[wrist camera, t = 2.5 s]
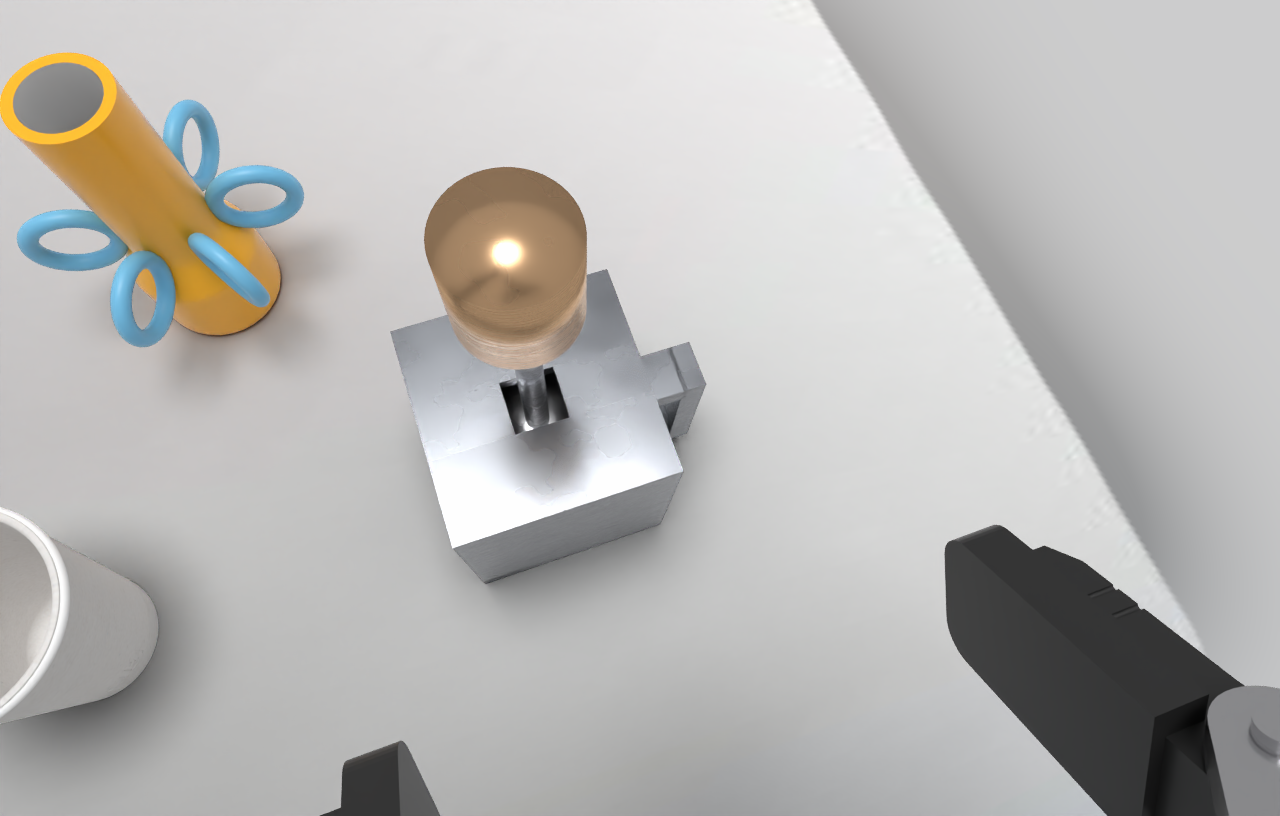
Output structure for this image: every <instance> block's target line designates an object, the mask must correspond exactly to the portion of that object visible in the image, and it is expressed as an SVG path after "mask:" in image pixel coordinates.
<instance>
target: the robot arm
mask: <svg viewBox="0 0 1280 816" xmlns="http://www.w3.org/2000/svg"><path fill="white" fill-rule="evenodd" d="M945 580H946V612H947V623H948V628H949V631H950V634H951V637H952V639H953V641H954V643H955V645H956V647H957V649H958V651H959V652H960V654H961V655H962V657H963V658H964V659H965V661H966V662H967V663H968V664H969V665H970V666H971V667H972V668H973V670H974V671H975V672H976V673H977V674H978V675H979V676H980V677H981V678H982V679H983V680H984V682H985V683H986V684H987V685H988V686H989V687H990V688H991V689H992V690H993V691H994V692H995V694H996V695H997V696H998V697H999V698H1000V699H1001V700H1002V701H1003V702H1004V703H1005V704H1006V706H1007V707H1008V708H1009V709H1010V710H1011V711H1012V712H1013V713H1014V714H1015V715H1016V716H1017V718H1018V719H1019V720H1020V721H1021V722H1022V723H1023V724H1024V725H1025V726H1026V727H1027V728H1028V730H1029V731H1030V732H1031V733H1032V734H1033V735H1034V736H1035V737H1036V738H1037V739H1038V740H1039V742H1040V743H1041V744H1042V745H1043V746H1044V747H1045V748H1046V749H1047V750H1048V751H1049V753H1050V754H1051V755H1052V756H1053V757H1054V758H1055V759H1056V760H1057V761H1058V762H1059V763H1060V765H1061V766H1062V767H1063V768H1064V769H1065V770H1066V771H1067V772H1068V773H1069V774H1070V775H1071V777H1072V778H1073V779H1074V780H1075V781H1076V782H1077V783H1078V784H1079V785H1080V786H1081V787H1082V789H1083V790H1084V791H1085V792H1086V793H1087V794H1088V795H1089V796H1090V797H1091V798H1092V799H1093V801H1094V802H1095V803H1096V804H1097V805H1098V806H1099V807H1100V808H1101V809H1102V810H1103V811H1104V813H1105V814H1106V815H1107V816H1280V689H1279V688H1273V687H1266V686H1244V685H1243V684H1241V683H1240V682H1239V681H1237V680H1236V679H1234V678H1233V677H1232V676H1231V675H1229V674H1228V673H1226V672H1225V671H1224V670H1222V669H1221V668H1220V667H1219V666H1218V665H1216V664H1215V663H1214V662H1212V661H1211V660H1210V659H1209V658H1207V657H1206V656H1205V655H1203V654H1202V653H1201V652H1199V651H1198V650H1197V649H1196V648H1194V647H1193V646H1192V645H1190V644H1189V643H1188V642H1187V641H1185V640H1184V639H1183V638H1181V637H1180V636H1179V635H1178V634H1176V633H1175V632H1174V631H1172V630H1171V629H1170V628H1168V627H1167V626H1166V625H1165V624H1163V623H1162V622H1161V621H1159V620H1158V619H1157V618H1156V617H1154V616H1153V615H1152V614H1150V613H1149V612H1148V611H1146V610H1145V609H1142V610H1141V609H1140V608H1139V607H1138V604H1137V603H1136V602H1135V601H1134V600H1132V599H1131V598H1130V597H1128V596H1127V595H1126V594H1125V593H1123V592H1122V591H1121V590H1119V589H1118V590H1115V589H1114V587H1113V584H1112V583H1110V582H1109V581H1108V580H1106V579H1105V578H1104V577H1103V576H1101V575H1100V574H1099V573H1097V572H1096V571H1095V570H1093V569H1092V568H1091V567H1090V566H1088V565H1087V564H1086V563H1084V562H1083V561H1081V560H1079V559H1076V558H1074V557H1071V556H1069V555H1066V554H1064V553H1061V552H1059V551H1056V550H1054V549H1051V548H1049V547H1046V546H1042V547H1039V548H1037V549H1034V550H1032V549H1031V548H1030V547H1028V546H1027V545H1026V544H1025V543H1023V542H1022V541H1021V540H1020V539H1019V538H1017V537H1016V536H1015V535H1014V534H1012V533H1011V532H1010V531H1009V530H1007V529H1006V528H1004V527H1002V526H1000V525H993V526H990V527H987V528H984V529H982V530H979V531H976V532H974V533H971V534H968V535H965V536H963V537H960V538H957V539H955V540H952V541H949V542H948V543H947V545H946V547H945ZM321 816H440V814H439V812H438V810H437V808H436V806H435V804H434V801H433V799H432V797H431V795H430V793H429V791H428V789H427V787H426V785H425V783H424V780H423V778H422V776H421V774H420V772H419V770H418V768H417V766H416V764H415V762H414V760H413V757H412V755H411V753H410V751H409V749H408V747H407V746H406V744H405V743H404V742H403V741H399V742H396V743H393V744H391V745H388V746H385V747H383V748H380V749H377V750H374V751H372V752H369V753H366V754H363V755H361V756H358V757H355V758H353V759H350V760H347V761H346V762H345V763H344V765H343V771H342V797H341V808H339V809H336V810H334V811H331V812H329V813H326V814H323V815H321Z"/></svg>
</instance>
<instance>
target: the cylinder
mask: <svg viewBox="0 0 1280 816" xmlns="http://www.w3.org/2000/svg"><path fill="white" fill-rule="evenodd" d="M0 113H1V117H2V119H3V121H4V123H5V125H6V126H7V127H8V129H9V130H10V131H11V132H12V133H13V134H14V135H15V136H16V137H17V138H18V139H19V140H20V141H22V142H23V143H24V144H25V145H26V146H27V147H28V148H29V149H30V150H31V151H32V152H33V153H34V154H35V155H36V156H37V157H38V158H39V159H40V160H41V161H42V162H43V163H44V164H45V165H46V166H47V167H48V168H49V169H50V170H51V171H52V172H53V173H54V174H55V175H56V176H57V177H58V178H59V179H60V180H61V181H62V182H63V183H64V184H65V185H66V186H67V187H68V188H69V189H70V190H71V191H72V192H74V193H75V194H76V195H77V196H78V197H79V198H80V199H81V200H82V201H83V202H84V203H85V204H86V205H87V206H88V207H89V208H90V209H91V210H92V211H93V212H91V211H85V210H56V211H50V212H46V213H43V214H40V215H37V216H35V217H33V218H31V219H29V220H28V221H27V222H25V223H24V224H23V225H22V226H21V228H20V229H19V231H18V234H17V243H18V246H19V248H20V250H21V251H22V252H23V254H24V255H25V256H27V257H28V258H29V259H31V260H32V261H34V262H36V263H38V264H40V265H43V266H46V267H49V268H53V269H58V270H66V271H86V270H94V269H99V268H103V267H106V266H109V265H111V264H113V263H115V262H117V261H118V260H120V259H121V258H122V257H123V256H124V255H125V254H126V257H127V258H125V259H124V261H123V262H122V263H121V264H120V266H119V268H118V269H117V271H116V274H115V276H114V279H113V283H112V287H111V296H110V306H111V314H112V318H113V322H114V325H115V327H116V329H117V331H118V333H119V334H120V335H121V337H122V338H123V339H124V340H125V341H126V342H128V343H129V344H131V345H133V346H137V347H148V346H151V345H153V344H155V343H157V342H158V341H159V340H161V339H162V337H163V336H164V335H165V334H166V332H167V330H168V329H169V326H170V324H171V322H172V319H173V318H174V319H175V320H176V321H177V322H178V323H180V324H181V325H182V326H184V327H185V328H187V329H189V330H192V331H194V332H197V333H201V334H207V335H226V334H232V333H235V332H238V331H241V330H244V329H246V328H248V327H249V326H251V325H253V324H255V323H256V322H257V321H259V320H260V319H261V318H263V317H264V316H265V314H266V313H267V312H268V311H269V310H270V309H271V307H272V305H273V304H274V302H275V300H276V298H277V295H278V292H279V289H280V281H281V275H280V268H279V265H278V262H277V260H276V258H275V256H274V255H273V253H272V251H271V250H270V248H269V247H268V246H267V244H266V243H265V241H264V240H263V239H262V237H261V236H260V234H259V233H258V232H257V230H256V229H255V228H262V227H268V226H273V225H276V224H279V223H282V222H284V221H286V220H288V219H289V218H291V217H292V216H294V215H295V214H296V213H297V212H298V211H299V209H300V208H301V206H302V204H303V200H304V192H303V188H302V186H301V184H300V183H299V182H298V180H297V179H296V178H295V177H293V176H292V175H291V174H289V173H287V172H285V171H283V170H281V169H278V168H274V167H270V166H261V165H251V166H242V167H237V168H234V169H231V170H228V171H226V172H224V173H222V174H220V175H218V176H217V177H216V178H215V175H216V172H217V169H218V163H219V139H218V133H217V129H216V126H215V123H214V121H213V118H212V117H211V115H210V113H209V112H208V110H207V109H206V108H205V107H204V106H203V105H202V104H200V103H198V102H196V101H193V100H183V101H181V102H179V103H177V104H176V105H175V106H174V107H173V108H172V109H171V111H170V112H169V114H168V117H167V119H166V122H165V126H164V132H163V140H162V139H161V137H160V136H159V135H158V133H157V132H156V131H155V129H154V128H153V127H152V126H151V124H150V123H149V122H148V120H147V119H146V118H145V116H144V115H143V114H142V112H141V111H140V110H139V109H138V107H137V106H136V105H135V103H134V102H133V101H132V99H131V98H130V97H129V95H128V94H127V93H126V92H125V90H124V89H123V88H122V86H121V85H120V84H119V82H118V81H117V80H116V78H115V77H114V76H113V74H112V73H111V72H110V71H109V69H108V68H107V67H106V66H105V65H104V64H102V63H101V62H100V61H98V60H96V59H94V58H92V57H90V56H87V55H83V54H78V53H57V54H51V55H47V56H44V57H41V58H38V59H36V60H34V61H31V62H30V63H28V64H26V65H25V66H23V67H22V68H20V69H19V70H18V71H17V72H16V73H15V74H14V75H13V76H12V77H11V78H10V79H9V81H8V82H7V84H6V85H5V87H4V89H3V92H2V94H1V98H0ZM191 117H192V118H193V119H194V120H195V122H196V124H197V126H198V128H199V131H200V135H201V141H202V157H201V163H200V166H199V169H198V171H197V173H196V174H195V176H193V177H192V176H191V175H190V174H189V172H188V170H187V168H186V166H185V162H184V158H183V151H182V139H183V132H184V128H185V125H186V123H187V121H188V120H189V119H190V118H191ZM251 183H266V184H272V185H275V186H278V187H280V188H282V189H283V190H284V191H285V192H286V198H285V200H284V201H283V202H282V203H281V204H279V205H278V206H276V207H274V208H271V209H268V210H264V211H257V212H246V211H241V210H240V209H239V208H238V207H236V206H235V205H233V204H232V203H230V202H229V201H227V200H225V199H224V197H225V195H226V194H227V193H228V192H229V191H230V190H232V189H234V188H236V187H239V186H242V185H245V184H251ZM204 190H206V192H205V194H204V193H203V191H204ZM62 228H86V229H92V230H95V231H99V232H101V233H103V234H105V235H107V236H108V237H109V238H110V243H109V245H108V246H106V247H105V248H103V249H101V250H99V251H96V252H92V253H87V254H64V253H58V252H54V251H51V250H49V249H46V248H44V247H43V246H42V245H40V243H39V238H40V237H41V236H42V235H44V234H46V233H48V232H50V231H53V230H57V229H62ZM135 282H136V283H137V284H138V286H139V287H140V288H141V289H142V290H143V291H144V292H145V293H146V294H147V295H148V296H149V297H151V298H152V299H153V300H154V301H155V302H156V308H155V312H154V315H153V318H152V320H151V322H150V323H149V325H148V326H147V327H146V328H145V329H143V330H141V329H140V328H139V327H138V326H137V324H136V322H135V320H134V317H133V312H132V292H133V287H134V284H135Z"/></svg>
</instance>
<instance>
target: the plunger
mask: <svg viewBox="0 0 1280 816" xmlns="http://www.w3.org/2000/svg"><path fill="white" fill-rule="evenodd" d="M424 243H425V251H426V256H427V259H428V262H429V265H430V268H431V270H432V273H433V276H434V279H435V281H436V284H437V287H438V290H439V292H440V295H441V298H442V301H443V303H444V306H445V309H446V312H447V314H448V317H449V320H450V323H451V325H452V328H453V330H454V333H455V335H456V336H457V338H458V340H459V341H460V343H461V344H462V345H463V347H464V348H465V349H466V350H467V351H468V352H469V353H471V354H472V355H473V356H475V357H476V358H477V359H479V360H481V361H483V362H485V363H487V364H490V365H492V366H495V367H499V368H504V369H511V370H515V374H516V379H517V383H516V384H513V385H510V386H507V387H503V388H501V392H502V395H503V398H504V401H505V404H506V407H507V410H508V413H509V416H510V419H511V423H512V426H513V429H514V432H515V435H516V434H519V433H522V432H525V431H528V430H532V429H535V428H538V427H541V426H544V425H547V424H551V423H554V422H557V421H560V420H563V419H566V418H569V415H568V413H567V410H566V407H565V404H564V401H563V398H562V395H561V392H560V389H559V386H558V384H557V381H556V378H555V375H554V372H552V373H549V374H546V375H544V368H543V365H544V364H547V363H549V362H551V361H553V360H554V359H556V358H558V357H559V356H560V355H562V354H563V353H564V352H565V351H567V350H568V349H569V348H570V347H571V345H572V344H573V343H574V342H575V340H576V339H577V337H578V336H579V334H580V332H581V330H582V328H583V325H584V321H585V317H586V289H587V232H586V225H585V221H584V218H583V215H582V212H581V210H580V208H579V206H578V205H577V203H576V201H575V200H574V198H573V197H572V196H571V195H570V194H569V193H568V191H566V190H565V189H564V188H563V187H562V186H561V185H560V184H558V183H557V182H555V181H554V180H552V179H550V178H549V177H547V176H545V175H543V174H540V173H537V172H535V171H531V170H527V169H522V168H515V167H500V168H491V169H486V170H482V171H479V172H476V173H473V174H471V175H469V176H466V177H464V178H463V179H461V180H459V181H458V182H456V183H455V184H453V185H452V186H451V187H450V188H448V189H447V190H446V191H445V192H444V193H443V194H442V195H441V196H440V198H439V199H438V200H437V202H436V203H435V205H434V206H433V208H432V210H431V212H430V214H429V217H428V220H427V223H426V227H425V235H424Z"/></svg>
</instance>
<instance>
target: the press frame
mask: <svg viewBox="0 0 1280 816" xmlns="http://www.w3.org/2000/svg"><path fill="white" fill-rule="evenodd" d="M391 336H392V339H393V343H394V346H395V350H396V353H397V357H398V360H399V364H400V367H401V371H402V374H403V378H404V381H405V385H406V388H407V392H408V395H409V398H410V402H411V405H412V409H413V412H414V416H415V419H416V423H417V426H418V430H419V433H420V437H421V440H422V444H423V447H424V451H425V454H426V458H427V461H428V464H429V468H430V471H431V475H432V478H433V482H434V485H435V489H436V492H437V496H438V499H439V503H440V506H441V510H442V513H443V517H444V520H445V524H446V527H447V531H448V534H449V537H450V541H451V544H452V548H453V549H454V550H455V551H456V552H457V554H458V555H459V556H460V557H461V558H462V559H463V560H464V561H465V562H466V563H467V565H468V566H469V567H470V568H471V569H472V570H473V571H474V572H475V573H476V574H477V576H478V577H479V578H480V579H481V580H482V581H483V582H484V583H485V584H487V583H490V582H493V581H495V580H498V579H501V578H504V577H507V576H510V575H513V574H516V573H519V572H522V571H525V570H528V569H530V568H533V567H536V566H539V565H542V564H545V563H548V562H551V561H554V560H557V559H560V558H562V557H565V556H568V555H571V554H574V553H577V552H580V551H583V550H586V549H589V548H592V547H595V546H597V545H600V544H603V543H606V542H609V541H612V540H615V539H618V538H621V537H624V536H627V535H630V534H632V533H635V532H638V531H641V530H644V529H647V528H650V527H653V526H656V525H659V524H660V523H661V521H662V519H663V517H664V514H665V512H666V510H667V508H668V505H669V503H670V501H671V498H672V496H673V494H674V492H675V489H676V487H677V485H678V483H679V480H680V478H681V476H682V473H683V468H682V465H681V463H680V460H679V458H678V455H677V452H676V450H675V447H674V444H673V442H672V439H671V438H674V437H677V436H680V435H683V434H686V433H687V432H688V429H689V427H690V424H691V422H692V419H693V416H694V414H695V411H696V409H697V406H698V404H699V401H700V399H701V396H702V393H703V391H704V388H705V386H706V383H705V380H704V378H703V375H702V373H701V370H700V368H699V365H698V363H697V360H696V358H695V355H694V353H693V350H692V348H691V345H690V343H689V342H687V343H684V344H681V345H677V346H674V347H671V348H668V349H664V350H661V351H658V352H655V353H651V354H648V355H645V356H642V357H640V355H639V352H638V350H637V347H636V344H635V342H634V339H633V336H632V334H631V331H630V328H629V326H628V323H627V321H626V318H625V315H624V313H623V310H622V307H621V305H620V302H619V299H618V297H617V294H616V292H615V289H614V286H613V284H612V281H611V278H610V276H609V273H608V270H607V269H606V270H602V271H599V272H595V273H592V274H588V275H587V289H586V317H585V321H584V325H583V328H582V330H581V332H580V334H579V336H578V337H577V339H576V340H575V342H574V343H573V344H572V345H571V347H570V348H569V349H568V350H567V351H565V352H564V353H563V354H562V355H560V356H559V357H558V358H556V359H554V360H553V361H551V362H549V363H547V364H544V365H543V368H544V375H546V374H549V373H552V372H554V375H555V378H556V381H557V384H558V386H559V389H560V392H561V395H562V398H563V401H564V404H565V407H566V410H567V413H568V415H569V418H566V419H563V420H560V421H557V422H554V423H551V424H547V425H544V426H541V427H538V428H535V429H532V430H528V431H525V432H522V433H519V434H516V435H515V432H514V429H513V426H512V423H511V419H510V416H509V413H508V410H507V407H506V404H505V401H504V398H503V395H502V392H501V388H503V387H507V386H510V385H513V384H516V383H517V379H516V374H515V370H511V369H504V368H499V367H495V366H492V365H490V364H487V363H485V362H483V361H481V360H479V359H477V358H476V357H475V356H473V355H472V354H471V353H469V352H468V351H467V350H466V349H465V348H464V347H463V345H462V344H461V343H460V341H459V340H458V338H457V336H456V335H455V333H454V330H453V328H452V325H451V323H450V320H449V317H448V315H446V316H443V317H439V318H436V319H432V320H429V321H425V322H422V323H418V324H415V325H411V326H408V327H404V328H401V329H397V330H394V331H391Z"/></svg>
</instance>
